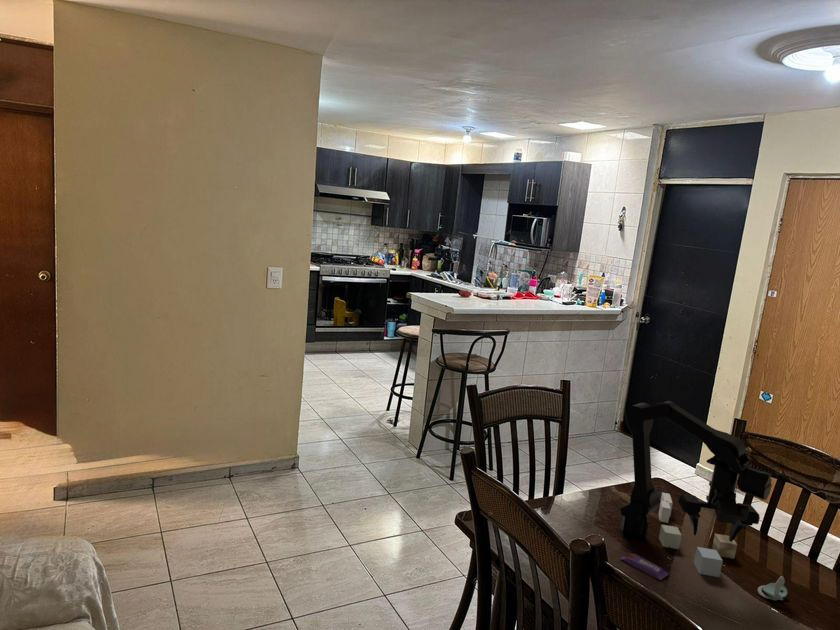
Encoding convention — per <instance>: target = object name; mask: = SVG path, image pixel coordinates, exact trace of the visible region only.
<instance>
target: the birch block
mask: <svg viewBox="0 0 840 630" xmlns="http://www.w3.org/2000/svg"><path fill="white" fill-rule="evenodd" d="M712 541H713V542H712V547H711V549H713V550H716V551H717V552H718V554H719V555H720V557H721V558H728V559H732V560H734V559H735V557H736V553H737V547H738V544H737V542H736V541H735V540H733V541H732V542H730V541H729V535H726V534H725V535H724V534H719V533H714V537H713V540H712Z"/></svg>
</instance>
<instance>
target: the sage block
mask: <svg viewBox="0 0 840 630" xmlns="http://www.w3.org/2000/svg"><path fill="white" fill-rule="evenodd" d="M659 529H660V530H659V536H658V540H659V542H660V544H661V546H662V547H664V548H669V547H670V548H669V549H674V550H675V549H676V550H679V549H680V545H681V542H682V541H681V540H682V533H681V531H680V530H679V528H678V527H677V526H673V525H668V524H667V525H666V524H661V525H660V528H659Z"/></svg>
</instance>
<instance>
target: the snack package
mask: <svg viewBox="0 0 840 630" xmlns="http://www.w3.org/2000/svg"><path fill="white" fill-rule="evenodd" d="M620 560H621V561H623V562H625V563H626V564H629V565H630V566H632V567H635V568H636V569H638V570H639V571H642V572H643V573H645V574H647V575H649V576H651V577H653V578H654V579H657V580H659V581H662V580H663V579H665V578H666V577H667V576H668V575H669V574H670V573H668V572H667V571H665V570H664V568H663V567H661V566H659V565H658V564H655V563H653V562H651V561H649V560H648V559H646V558H644V557H642V556H640V555H638V554H636V553H630V552H627V553H626V554H625V555H622V557H620Z"/></svg>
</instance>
